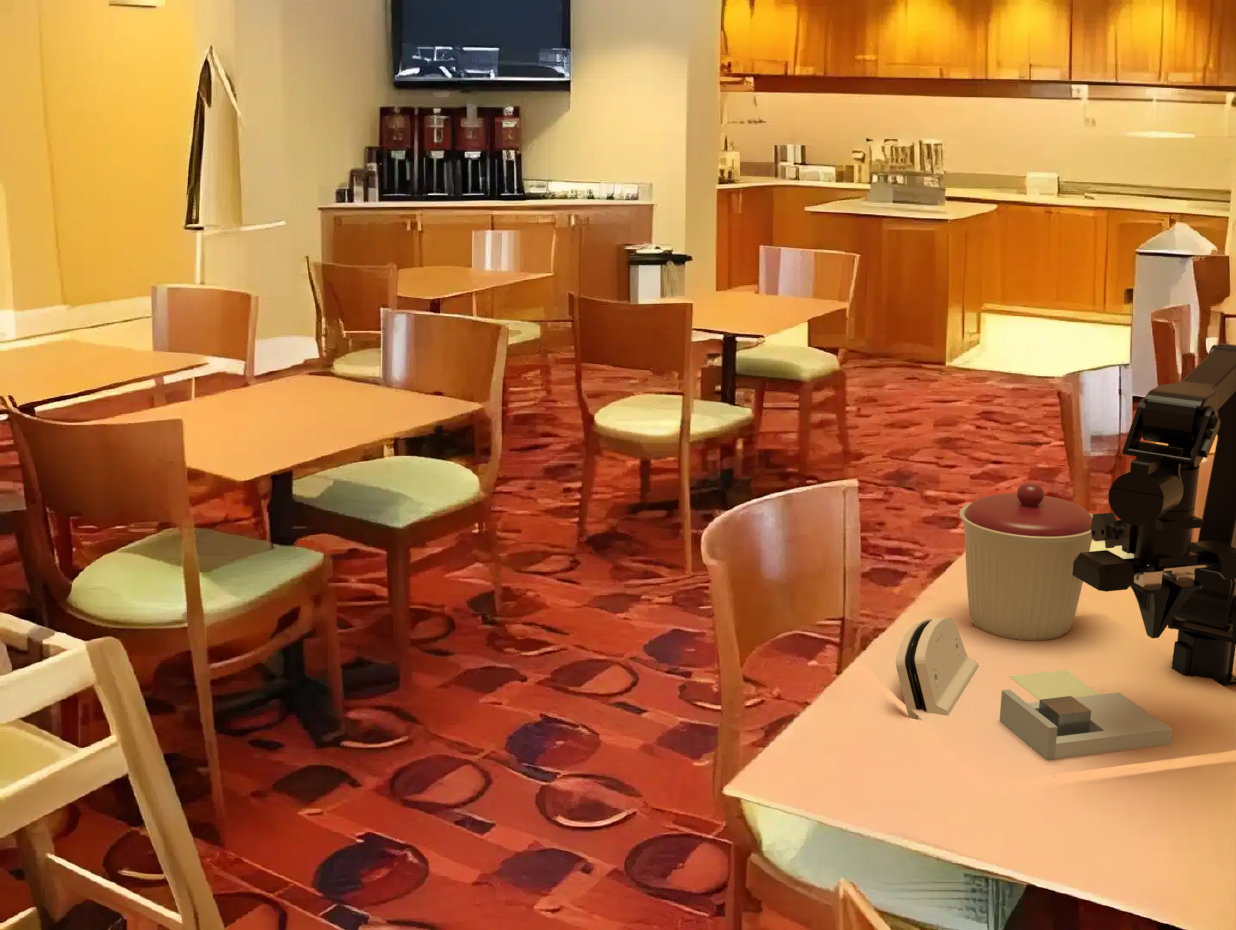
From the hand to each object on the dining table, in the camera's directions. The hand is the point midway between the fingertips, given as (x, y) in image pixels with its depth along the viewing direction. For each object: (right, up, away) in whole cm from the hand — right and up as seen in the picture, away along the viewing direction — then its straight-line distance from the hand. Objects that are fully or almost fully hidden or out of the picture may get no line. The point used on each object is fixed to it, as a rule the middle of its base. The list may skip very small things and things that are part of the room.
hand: (1152, 636), depth 153 cm
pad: (-7, -9, +13) cm, 17 cm away
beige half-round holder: (-21, -9, +14) cm, 27 cm away
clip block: (-8, -10, 0) cm, 13 cm away
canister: (-5, -4, +34) cm, 34 cm away
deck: (-7, -12, +1) cm, 14 cm away
